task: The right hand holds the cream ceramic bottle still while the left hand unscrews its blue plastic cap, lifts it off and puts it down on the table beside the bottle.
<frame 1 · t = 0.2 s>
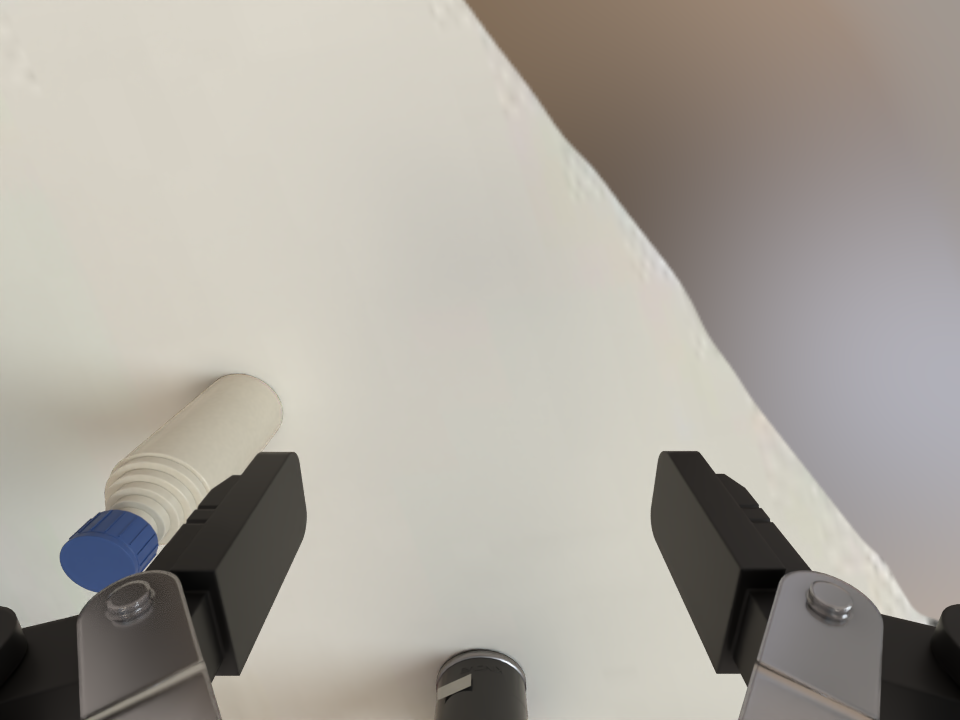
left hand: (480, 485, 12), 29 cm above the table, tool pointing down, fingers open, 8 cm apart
cap: (101, 561, 27), point 18 cm above the table, screwed on, not yet turned
bottle: (244, 409, 44), on the table
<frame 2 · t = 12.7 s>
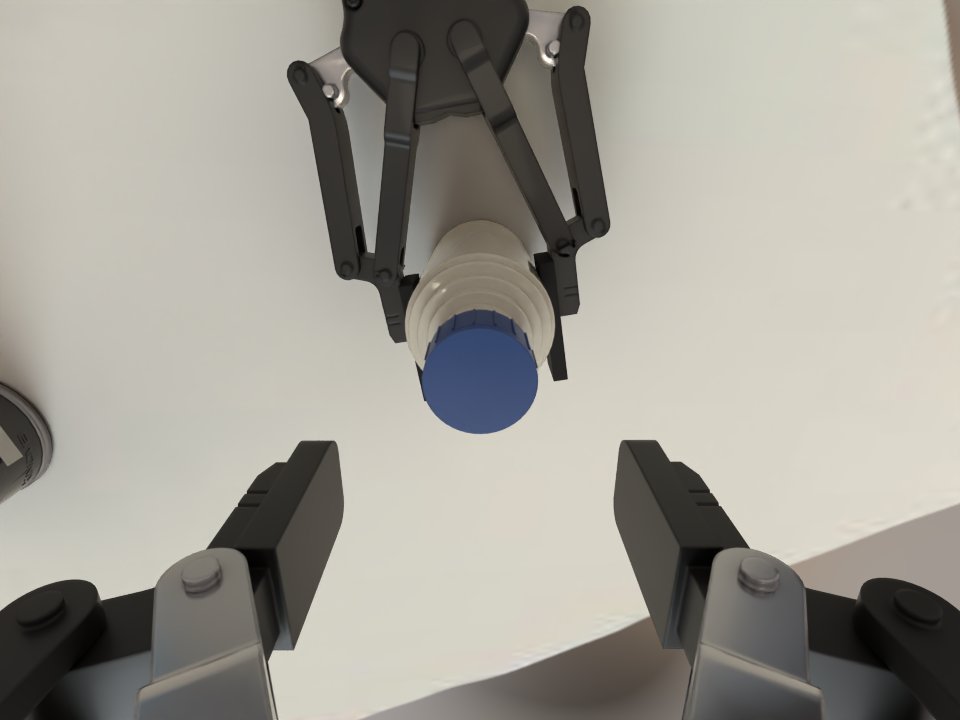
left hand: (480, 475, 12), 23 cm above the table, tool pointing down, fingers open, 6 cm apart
right hand: (494, 379, 30), fingers closed on bottle, 6 cm apart
cap: (479, 379, 17), point 18 cm above the table, screwed on, not yet turned
bottle: (479, 271, 34), on the table, touching right hand
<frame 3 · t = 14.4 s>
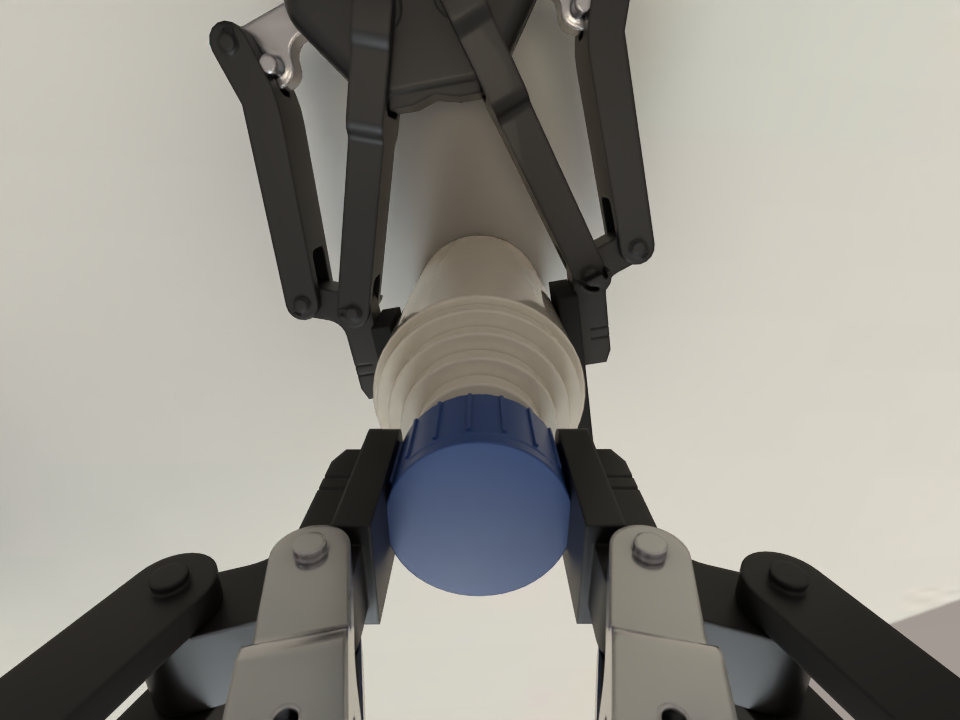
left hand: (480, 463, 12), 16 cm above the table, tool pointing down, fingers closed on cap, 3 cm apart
cap: (479, 514, 11), point 18 cm above the table, screwed on, not yet turned, touching left hand
bottle: (479, 298, 27), on the table, touching right hand
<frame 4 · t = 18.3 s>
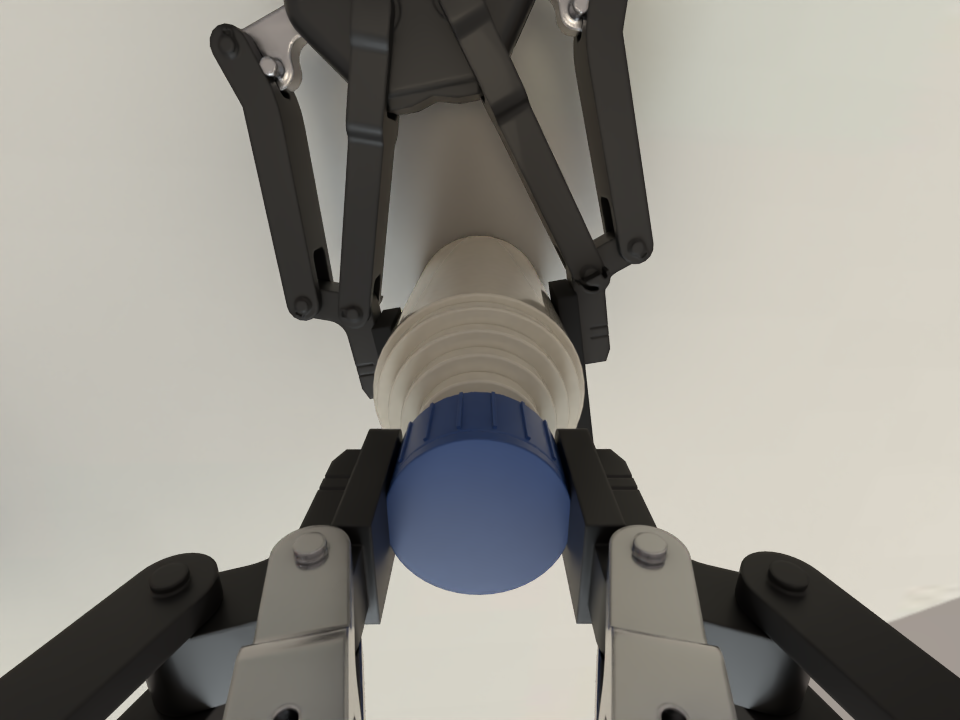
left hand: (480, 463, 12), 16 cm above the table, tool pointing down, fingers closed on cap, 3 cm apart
cap: (478, 512, 11), point 18 cm above the table, turned 90° so far, risen 0.1 cm, still on its thread, touching left hand
bottle: (479, 298, 27), on the table, touching right hand
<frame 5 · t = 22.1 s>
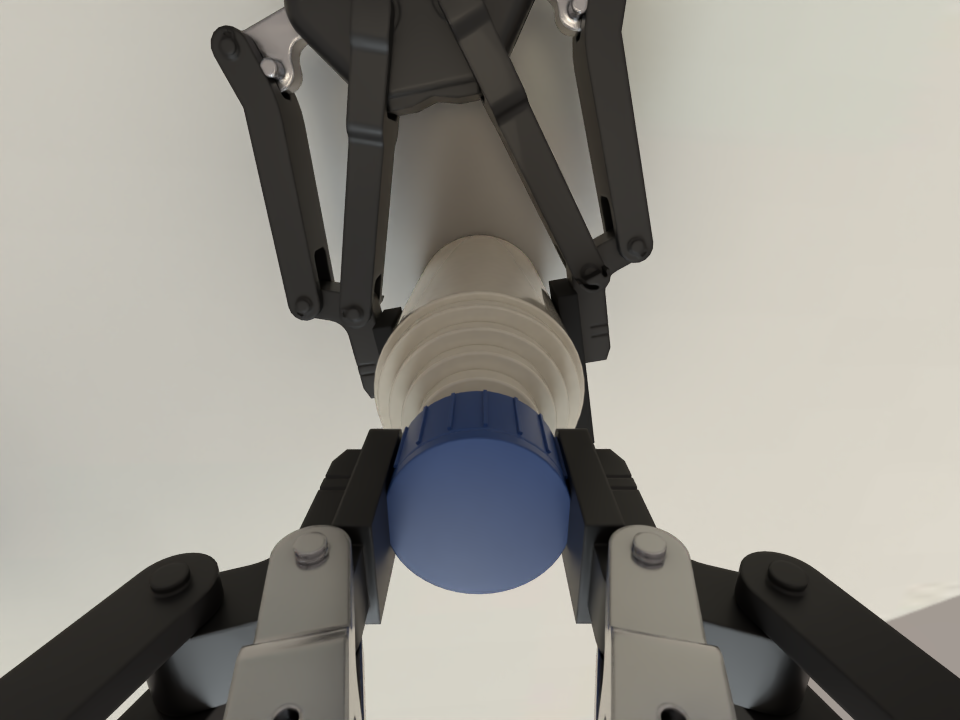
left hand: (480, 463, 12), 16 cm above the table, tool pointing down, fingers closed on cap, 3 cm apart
cap: (478, 511, 11), point 18 cm above the table, turned 180° so far, risen 0.2 cm, still on its thread, touching left hand
bottle: (480, 297, 27), on the table, touching right hand
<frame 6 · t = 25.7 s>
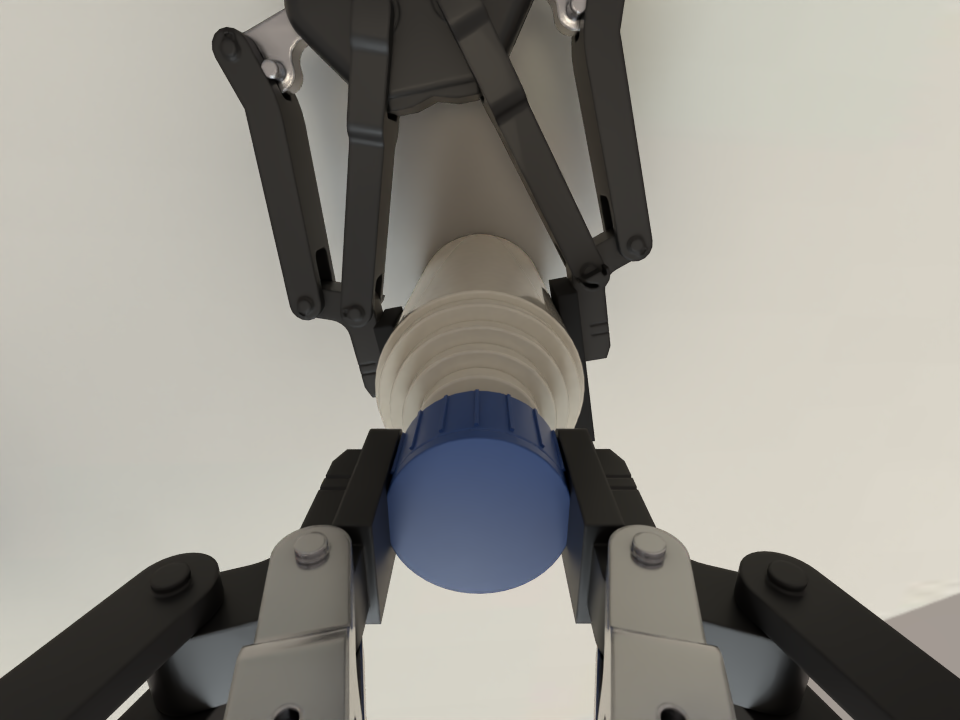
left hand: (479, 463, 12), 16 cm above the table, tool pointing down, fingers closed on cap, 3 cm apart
cap: (478, 511, 11), point 18 cm above the table, turned 270° so far, risen 0.3 cm, still on its thread, touching left hand
bottle: (480, 296, 27), on the table, touching right hand
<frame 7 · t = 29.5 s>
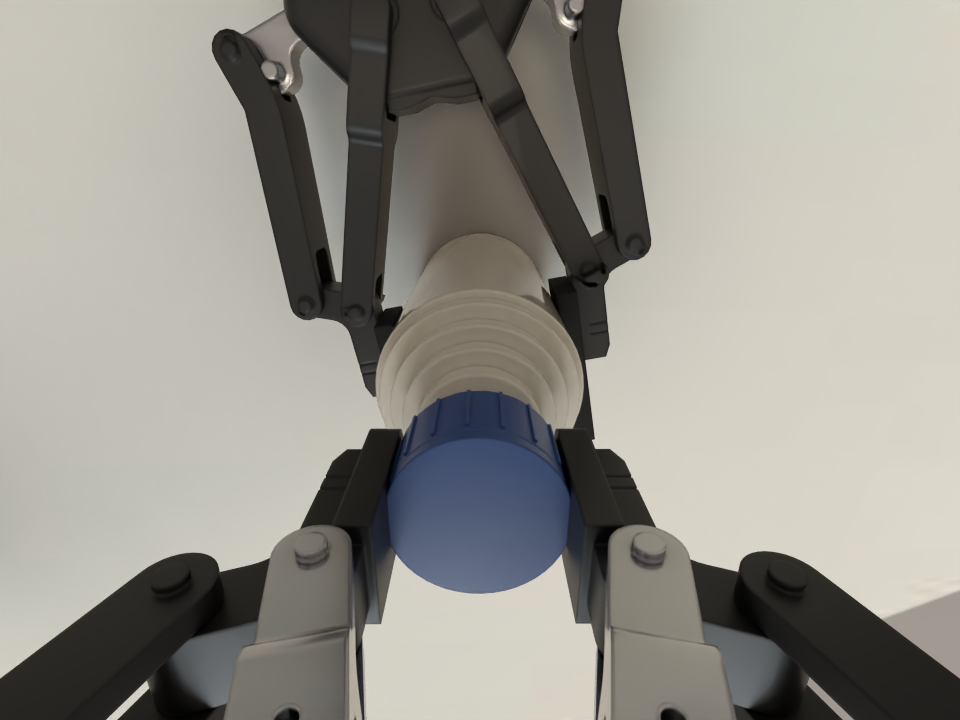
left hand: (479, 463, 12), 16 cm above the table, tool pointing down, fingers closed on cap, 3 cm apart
right hand: (501, 437, 23), fingers closed on bottle, 6 cm apart
cap: (478, 511, 11), point 18 cm above the table, turned 360° so far, risen 0.4 cm, still on its thread, touching left hand
bottle: (480, 295, 27), on the table, touching right hand
when the left hand's fingers open (2 cm above the table, at t = 40.4 s): cap drops 2 cm, point 2 cm above the table.
when the right hand's fingers open (6 cm above the table, at t = 41.5 s): bottle stays where it is, on the table.
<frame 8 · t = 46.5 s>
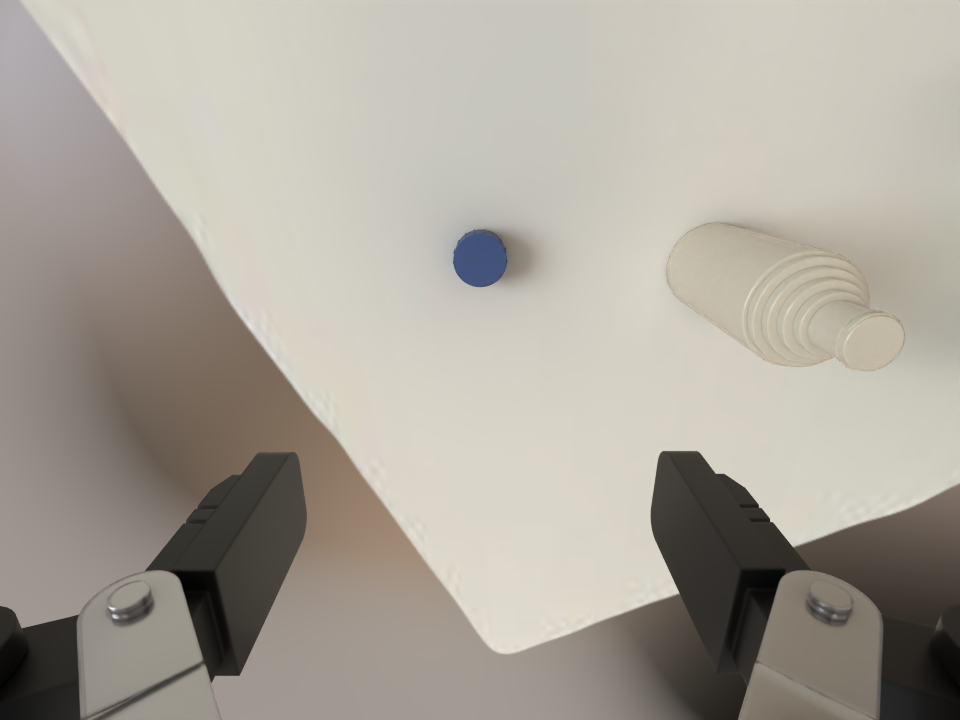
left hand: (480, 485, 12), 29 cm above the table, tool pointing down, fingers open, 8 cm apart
cap: (480, 260, 37), point 2 cm above the table, off its thread
bottle: (709, 266, 39), on the table
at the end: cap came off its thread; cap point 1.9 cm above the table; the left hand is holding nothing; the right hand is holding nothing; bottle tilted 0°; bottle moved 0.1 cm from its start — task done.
